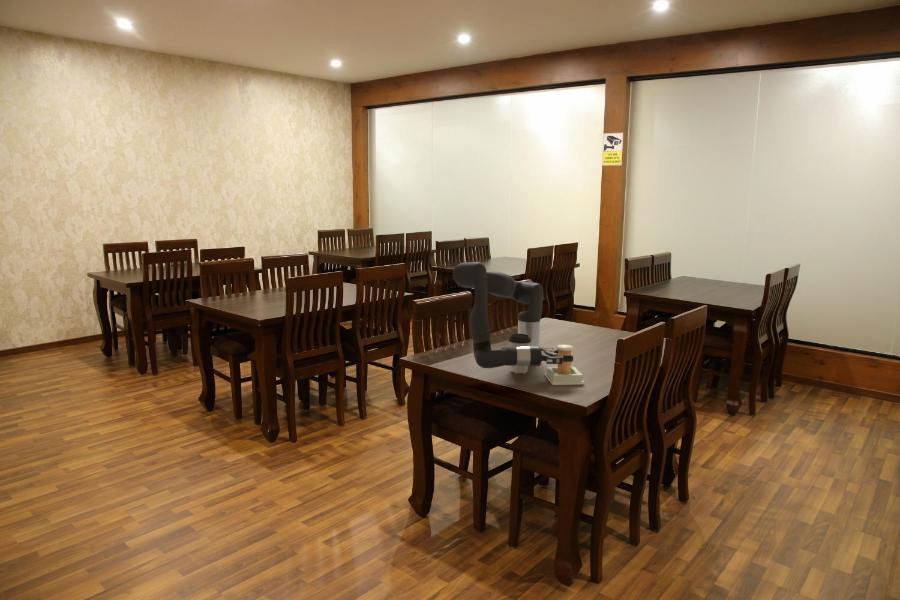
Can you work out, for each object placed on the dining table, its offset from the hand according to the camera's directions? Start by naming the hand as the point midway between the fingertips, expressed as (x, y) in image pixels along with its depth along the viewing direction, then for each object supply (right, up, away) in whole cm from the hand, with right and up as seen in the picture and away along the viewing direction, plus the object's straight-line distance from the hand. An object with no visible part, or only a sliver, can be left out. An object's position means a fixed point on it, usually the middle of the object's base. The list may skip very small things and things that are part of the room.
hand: (569, 355), depth 226 cm
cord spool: (-2, -8, +1) cm, 9 cm away
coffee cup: (-18, -8, +12) cm, 23 cm away
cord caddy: (-2, -9, +2) cm, 10 cm away
